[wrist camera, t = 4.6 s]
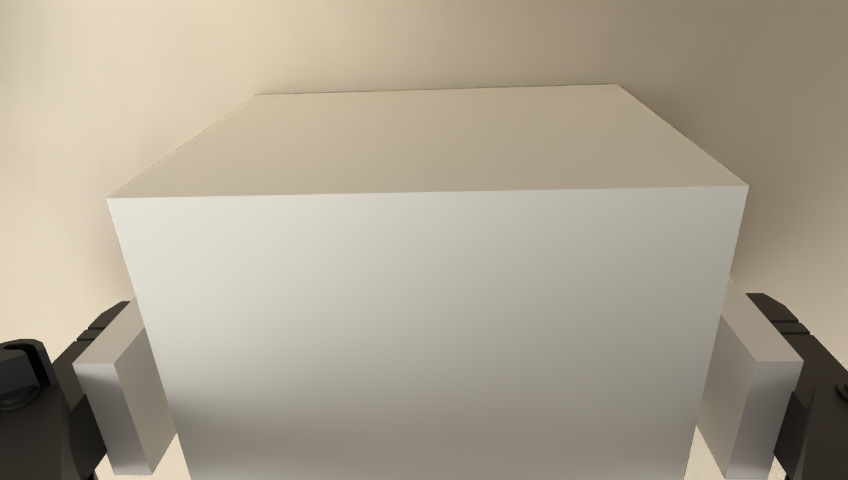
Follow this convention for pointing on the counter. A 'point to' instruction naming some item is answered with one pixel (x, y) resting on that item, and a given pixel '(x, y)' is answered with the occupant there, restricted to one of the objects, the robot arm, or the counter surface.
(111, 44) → the counter surface
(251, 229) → the cover
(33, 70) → the counter surface
